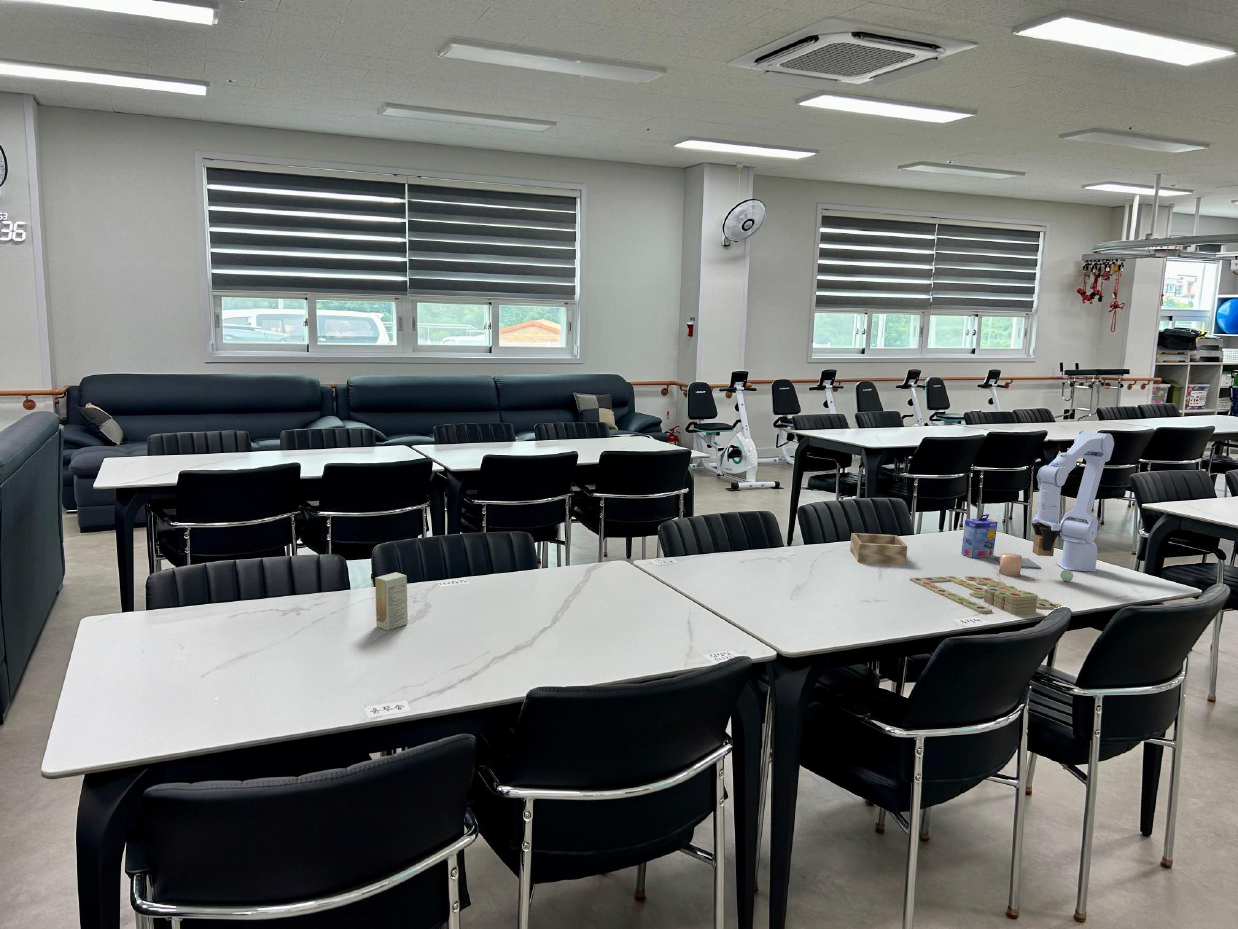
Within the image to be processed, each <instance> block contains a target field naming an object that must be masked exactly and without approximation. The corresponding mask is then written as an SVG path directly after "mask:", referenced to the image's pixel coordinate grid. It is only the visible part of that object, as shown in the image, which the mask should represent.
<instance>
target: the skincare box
mask: <svg viewBox="0 0 1238 929" xmlns="http://www.w3.org/2000/svg"><path fill="white" fill-rule="evenodd" d="M407 578H408V577H407V575H406V574H403V573H400V572H391V573H386V574H383V575H380V576H377V577H375V579H374V581H375V586H374V587H375V616H376V617H375V619H376V620H375V621H376V622H375V623H376V624H375V625H376V627H378V628H380V629H382V630H385V631H389V630H394V629H395V628H396V629H397V628H399V627H403V626H406V625H408V624H409V623H408V622H409V621H408V620H409V619H408V613H409V612H408V580H407Z"/></svg>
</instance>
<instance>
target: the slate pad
mask: <svg viewBox="0 0 1238 929" xmlns="http://www.w3.org/2000/svg"><path fill="white" fill-rule="evenodd" d="M993 559H994V560H995V561H996V562H998V563H999V564H1000V559H1001V556H997V555H995V556H994V555H993ZM1041 568H1042V566H1040V565H1038V564H1037V563H1036V562H1034V561H1033V560H1031V558H1029V557H1028V558H1027V557H1022V562H1021V569H1033V570H1034V569H1035V570H1038V569H1039V570H1041Z"/></svg>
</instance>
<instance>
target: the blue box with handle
mask: <svg viewBox="0 0 1238 929" xmlns="http://www.w3.org/2000/svg"><path fill="white" fill-rule="evenodd" d="M989 516H990V513H988V514H981V515H980V516H979V518H968V519H965V520H964V525H963V526H964V528H963V536H962V545H961V552H960V553H961V555H963V556H966V557H968V558H970V559H979V558H987V557H989V558H990V557H992V558H993V557H994V553H995V544H996V536H997V529H998V521H996V520H994V519H990V518H989Z"/></svg>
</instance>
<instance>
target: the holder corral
mask: <svg viewBox="0 0 1238 929" xmlns="http://www.w3.org/2000/svg"><path fill="white" fill-rule="evenodd" d="M849 547H850V548H849V551H850V552H851V554H852V555H853V557H854V558H855V560H856V561H857V563H866V564H867V563H869V564H887V565H905V566H906V565H907V556H908V554H907V553H908V545H907V544H906V543H905V542H904V541H903V540H902V539H901V538H900V536H898V535H897V534H895V535H893V534H877V533H876V534H875V533H857V532H851V536H850V546H849Z"/></svg>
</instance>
